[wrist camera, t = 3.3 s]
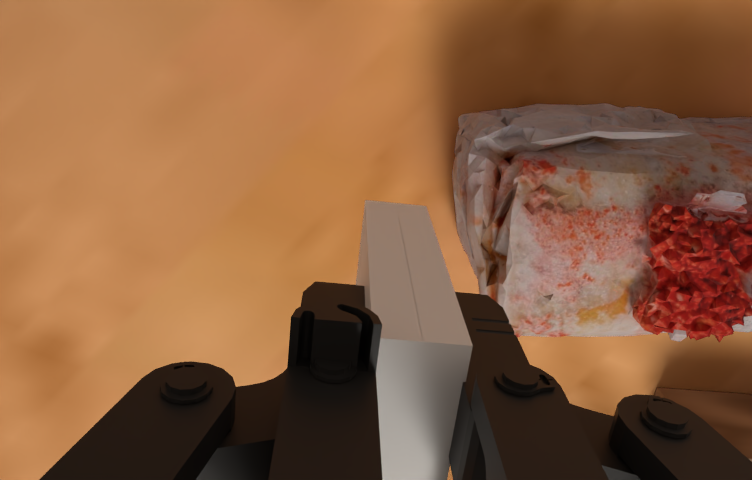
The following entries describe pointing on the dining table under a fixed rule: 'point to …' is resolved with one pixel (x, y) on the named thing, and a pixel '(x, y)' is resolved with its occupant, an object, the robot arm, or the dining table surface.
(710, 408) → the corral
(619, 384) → the dining table surface
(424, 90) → the dining table surface
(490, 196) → the food item
